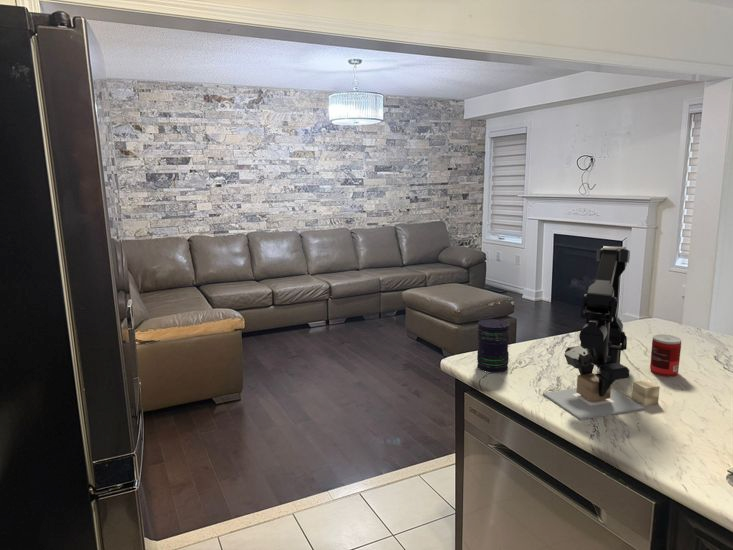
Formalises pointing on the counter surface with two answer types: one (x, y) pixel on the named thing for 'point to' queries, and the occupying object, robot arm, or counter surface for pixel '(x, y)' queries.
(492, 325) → the black jar
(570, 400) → the build mat
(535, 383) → the counter surface
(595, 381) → the walnut block
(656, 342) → the canned food
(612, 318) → the robot arm
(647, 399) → the maple block
